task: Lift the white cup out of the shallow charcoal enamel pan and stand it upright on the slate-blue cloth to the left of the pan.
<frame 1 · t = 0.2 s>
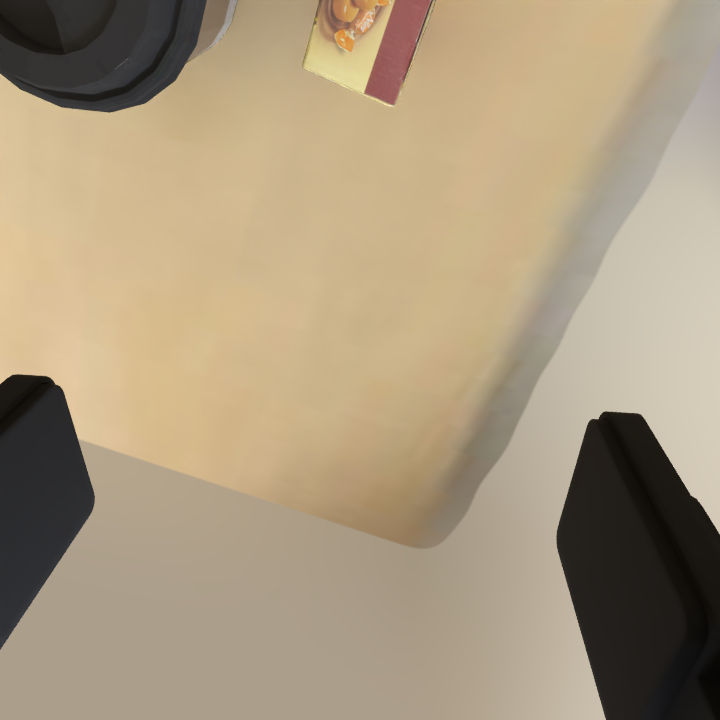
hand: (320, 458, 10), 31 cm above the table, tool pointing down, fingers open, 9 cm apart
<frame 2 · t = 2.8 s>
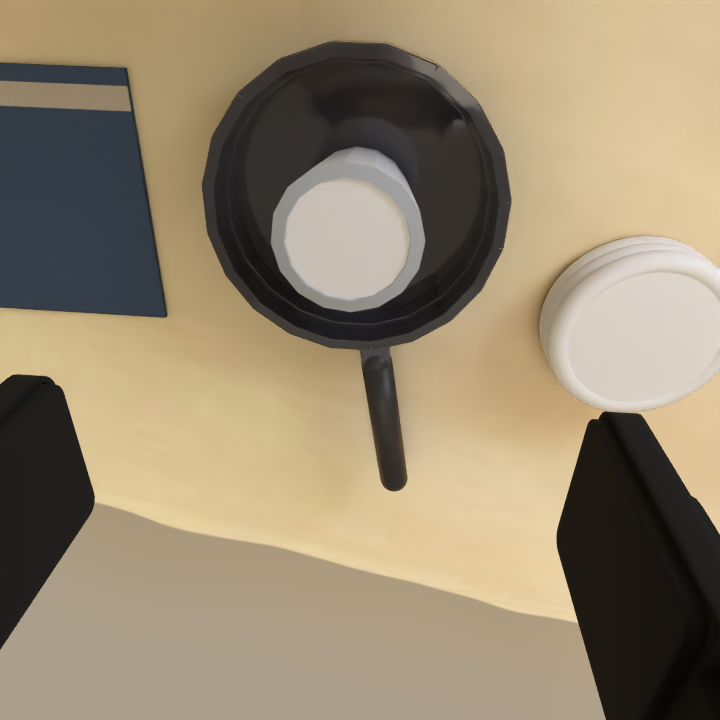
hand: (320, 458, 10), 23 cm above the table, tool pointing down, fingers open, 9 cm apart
white cup: (358, 199, 31), resting on pan
pan: (359, 199, 31), on the table
cloth: (30, 199, 32), on the table
pan handle: (385, 419, 35), point 2 cm above the table
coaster: (622, 312, 33), on the table
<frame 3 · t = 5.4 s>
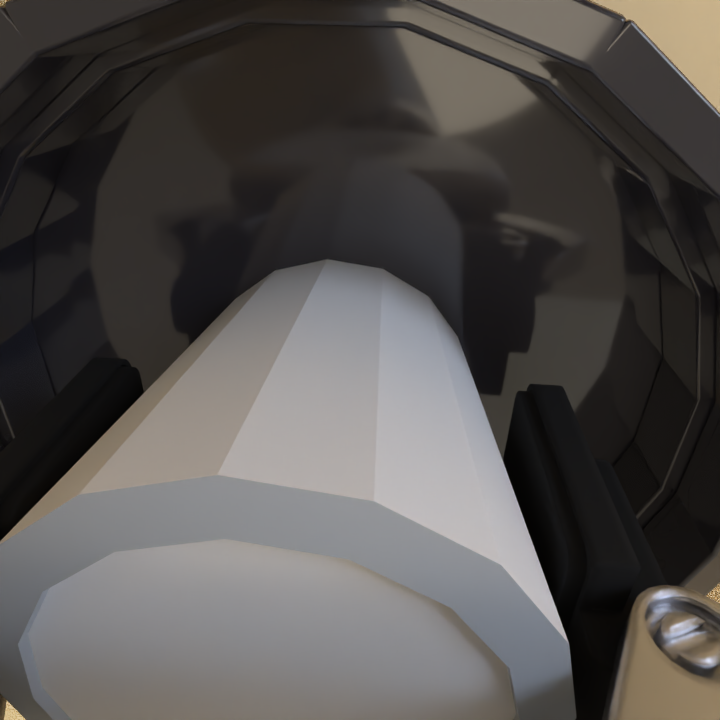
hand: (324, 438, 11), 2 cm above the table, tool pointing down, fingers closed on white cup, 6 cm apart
white cup: (338, 375, 12), resting on pan, touching gripper
pan: (338, 372, 13), on the table
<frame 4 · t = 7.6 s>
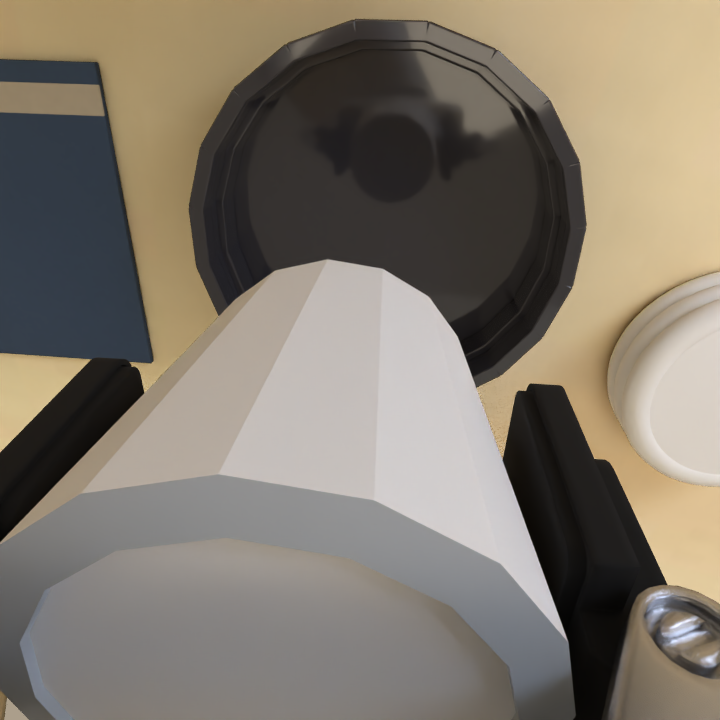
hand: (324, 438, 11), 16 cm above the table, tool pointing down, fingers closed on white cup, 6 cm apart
white cup: (338, 375, 12), point 14 cm above the table, touching gripper
pan: (385, 222, 25), on the table
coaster: (711, 361, 27), on the table
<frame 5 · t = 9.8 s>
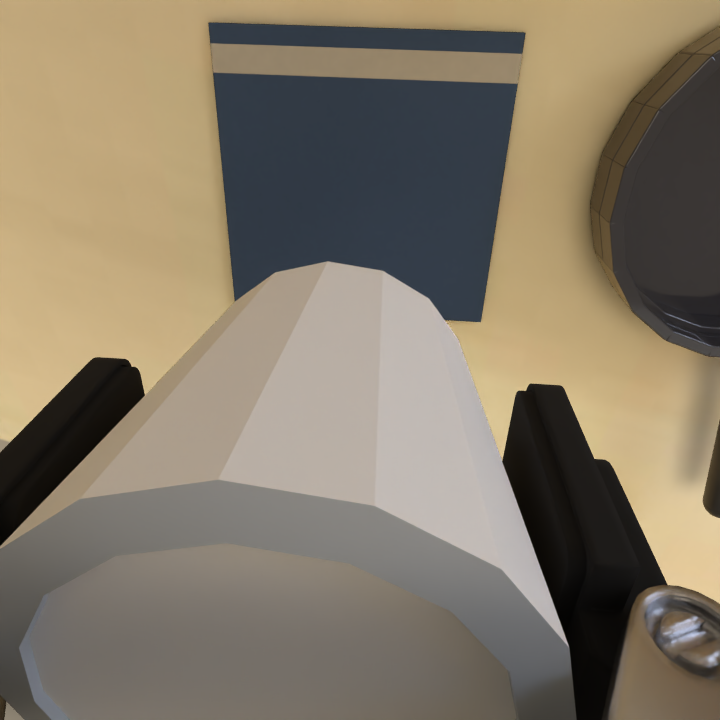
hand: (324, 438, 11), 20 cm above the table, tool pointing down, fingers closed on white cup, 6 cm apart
white cup: (338, 377, 12), point 18 cm above the table, touching gripper
cloth: (360, 188, 28), on the table
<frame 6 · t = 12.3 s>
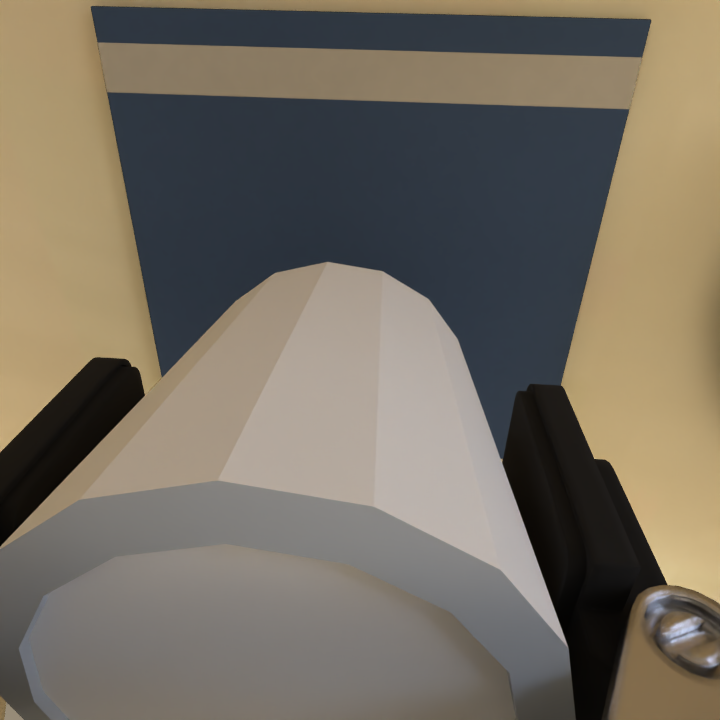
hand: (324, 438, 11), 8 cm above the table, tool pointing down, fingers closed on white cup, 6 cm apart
white cup: (338, 377, 12), point 6 cm above the table, touching gripper
cloth: (358, 272, 18), on the table
when the fingers open (2 cm above the table, at t = 14.3 s): white cup stays where it is, resting on cloth.
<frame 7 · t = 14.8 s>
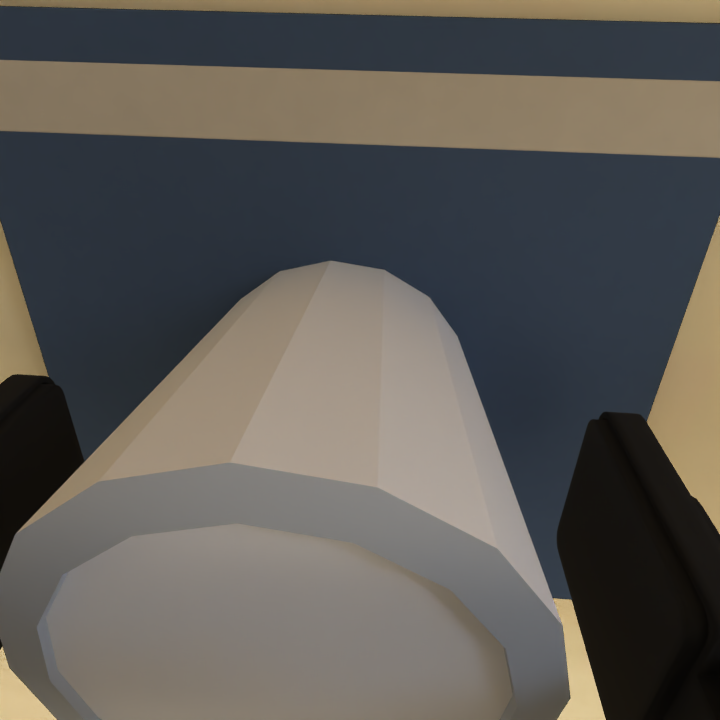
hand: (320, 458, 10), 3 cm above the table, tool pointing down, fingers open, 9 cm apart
white cup: (340, 374, 13), resting on cloth
cloth: (340, 370, 13), on the table
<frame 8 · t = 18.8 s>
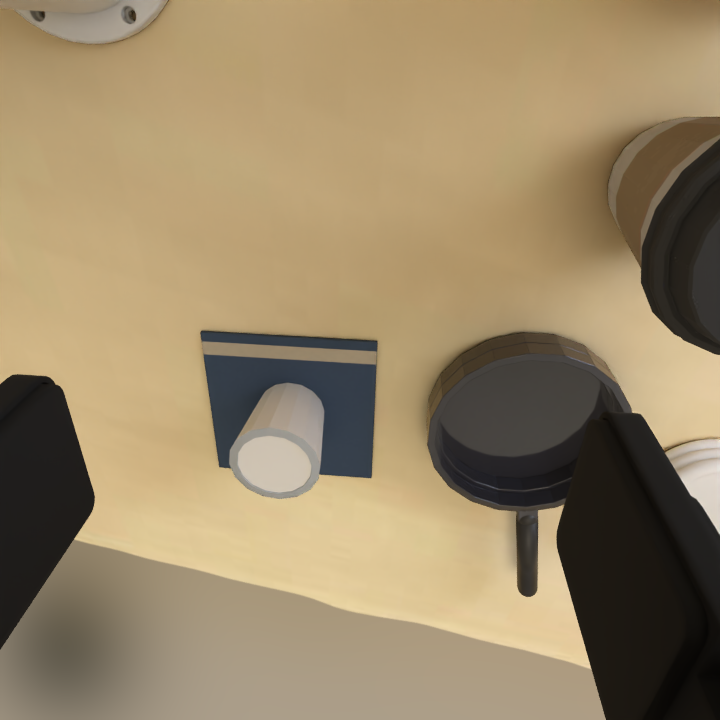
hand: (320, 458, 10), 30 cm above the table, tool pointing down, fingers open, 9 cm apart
coffee cup: (663, 178, 36), on the table
white cup: (292, 409, 47), resting on cloth
pan: (520, 413, 46), on the table
cloth: (292, 408, 47), on the table
pan handle: (527, 550, 49), point 2 cm above the table
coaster: (695, 480, 48), on the table
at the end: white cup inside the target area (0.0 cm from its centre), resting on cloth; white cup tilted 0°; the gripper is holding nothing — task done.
